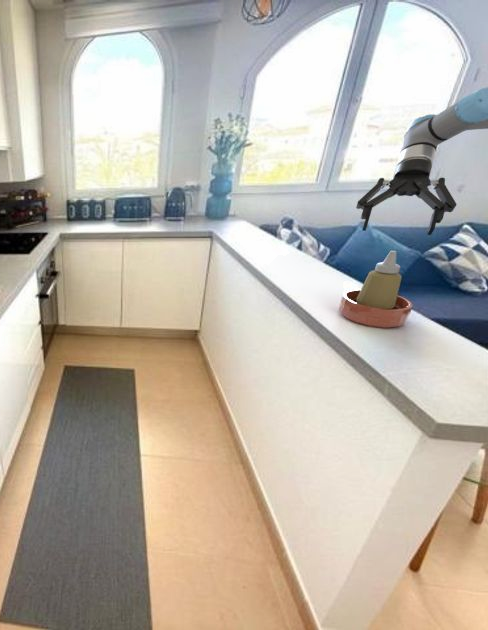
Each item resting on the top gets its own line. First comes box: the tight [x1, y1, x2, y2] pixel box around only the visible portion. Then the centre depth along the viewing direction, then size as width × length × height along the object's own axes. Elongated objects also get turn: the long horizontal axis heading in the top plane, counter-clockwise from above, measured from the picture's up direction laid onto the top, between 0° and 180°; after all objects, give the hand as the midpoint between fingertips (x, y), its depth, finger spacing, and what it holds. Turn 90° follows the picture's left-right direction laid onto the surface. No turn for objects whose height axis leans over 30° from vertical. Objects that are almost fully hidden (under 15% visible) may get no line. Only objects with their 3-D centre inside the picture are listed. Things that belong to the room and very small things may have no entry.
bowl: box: [338, 288, 414, 329], centre depth 94 cm, size 14×14×6 cm
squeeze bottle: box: [356, 250, 403, 310], centre depth 91 cm, size 8×8×18 cm
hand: (396, 230), depth 95 cm, fingers open, 13 cm apart
